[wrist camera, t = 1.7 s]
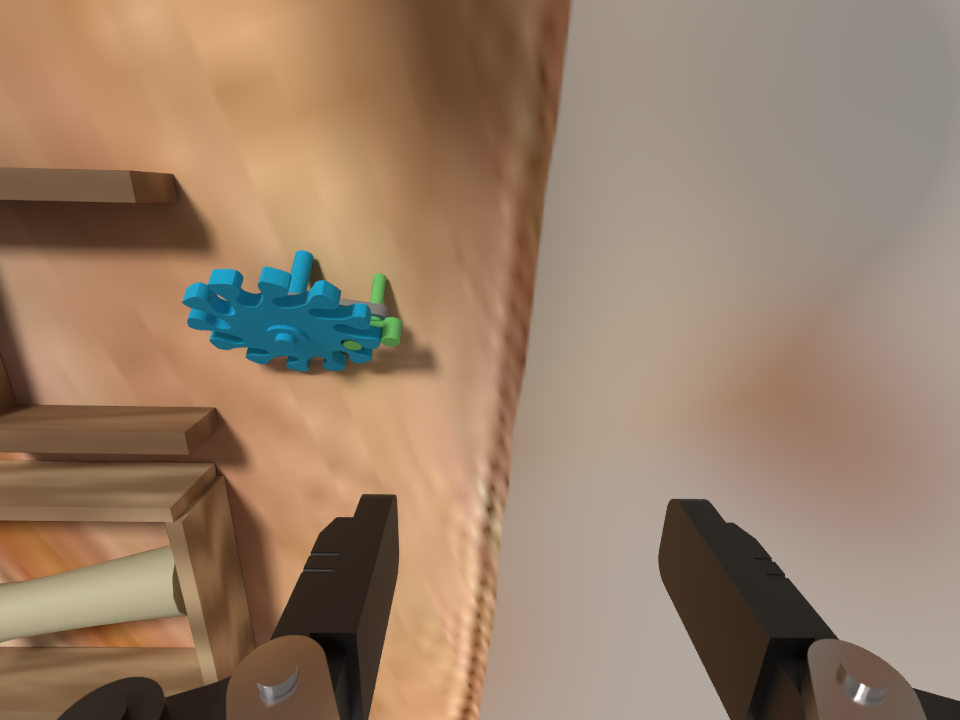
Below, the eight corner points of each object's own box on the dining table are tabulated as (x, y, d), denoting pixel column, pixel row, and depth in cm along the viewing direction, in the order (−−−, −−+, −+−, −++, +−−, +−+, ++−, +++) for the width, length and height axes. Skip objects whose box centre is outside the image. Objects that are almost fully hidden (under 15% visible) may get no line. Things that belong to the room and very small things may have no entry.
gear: (210, 371, 28) (142, 278, 20) (233, 289, 31) (183, 175, 22) (393, 388, 31) (406, 312, 22) (400, 311, 33) (415, 215, 24)
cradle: (-91, 167, 26) (-173, 163, 23) (172, 173, 26) (129, 170, 23) (0, 424, 31) (-55, 451, 28) (218, 427, 32) (188, 454, 28)
